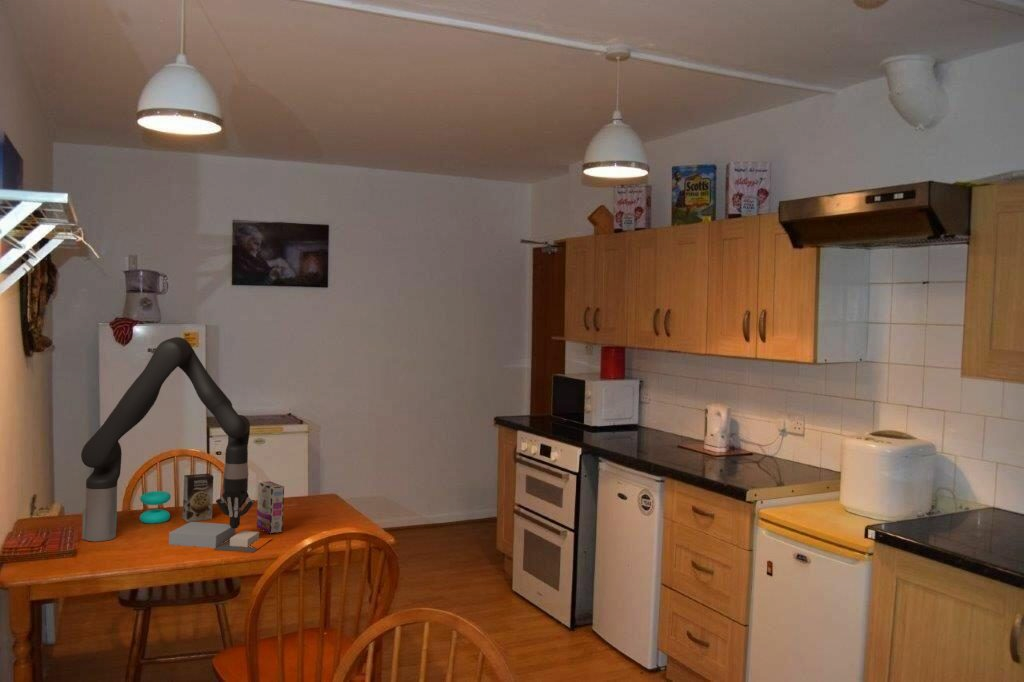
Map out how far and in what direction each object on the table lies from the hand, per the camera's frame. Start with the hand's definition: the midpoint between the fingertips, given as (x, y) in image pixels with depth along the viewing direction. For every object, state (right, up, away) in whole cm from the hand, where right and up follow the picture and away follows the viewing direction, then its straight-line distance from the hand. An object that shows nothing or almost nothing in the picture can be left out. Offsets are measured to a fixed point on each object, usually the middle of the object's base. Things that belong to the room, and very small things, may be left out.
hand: (234, 527), depth 263 cm
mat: (+4, -5, -1) cm, 6 cm away
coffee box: (-23, -4, +28) cm, 36 cm away
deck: (-11, -5, +1) cm, 12 cm away
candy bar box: (+7, -5, +17) cm, 18 cm away
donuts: (-37, -3, +23) cm, 44 cm away
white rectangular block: (+3, -4, 0) cm, 5 cm away
